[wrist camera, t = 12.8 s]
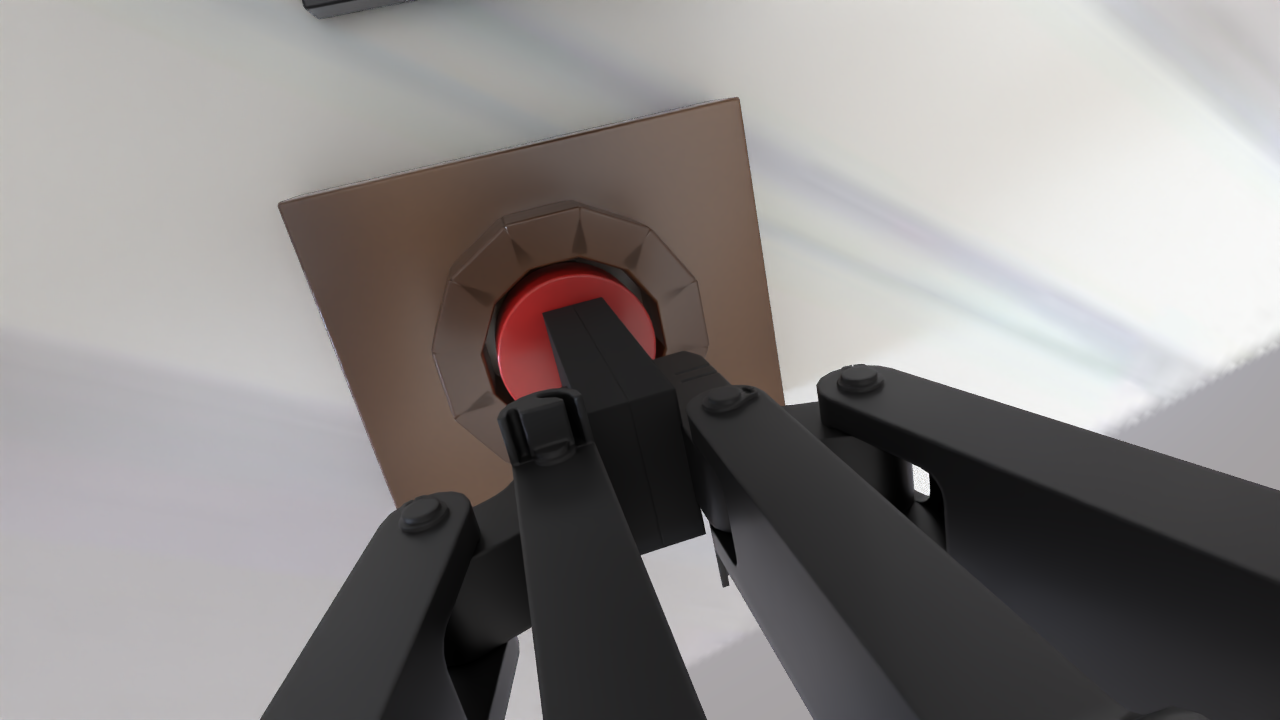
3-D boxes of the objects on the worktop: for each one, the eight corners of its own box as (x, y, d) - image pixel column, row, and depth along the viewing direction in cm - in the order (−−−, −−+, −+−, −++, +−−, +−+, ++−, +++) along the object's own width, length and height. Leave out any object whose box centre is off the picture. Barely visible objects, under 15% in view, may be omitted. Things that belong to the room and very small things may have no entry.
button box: (415, 507, 22) (404, 582, 18) (296, 196, 19) (253, 210, 15) (761, 402, 24) (816, 451, 20) (713, 99, 20) (767, 92, 17)
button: (517, 420, 19) (522, 446, 18) (475, 283, 18) (476, 298, 16) (653, 380, 20) (670, 402, 18) (624, 244, 18) (639, 255, 17)
